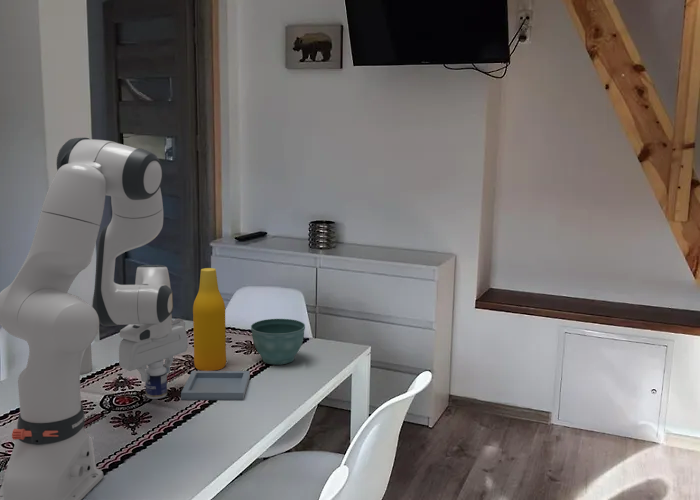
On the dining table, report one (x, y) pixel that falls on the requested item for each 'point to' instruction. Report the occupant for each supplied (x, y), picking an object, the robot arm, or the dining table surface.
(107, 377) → the dining table surface
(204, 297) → the beer bottle
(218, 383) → the dish
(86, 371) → the cup
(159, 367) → the pill bottle
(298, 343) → the flower pot
